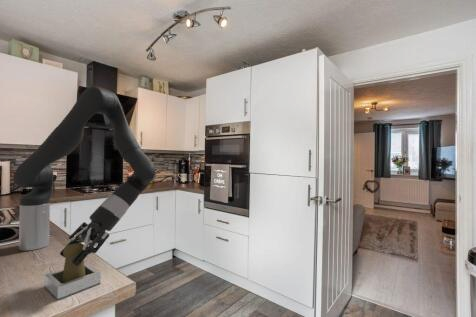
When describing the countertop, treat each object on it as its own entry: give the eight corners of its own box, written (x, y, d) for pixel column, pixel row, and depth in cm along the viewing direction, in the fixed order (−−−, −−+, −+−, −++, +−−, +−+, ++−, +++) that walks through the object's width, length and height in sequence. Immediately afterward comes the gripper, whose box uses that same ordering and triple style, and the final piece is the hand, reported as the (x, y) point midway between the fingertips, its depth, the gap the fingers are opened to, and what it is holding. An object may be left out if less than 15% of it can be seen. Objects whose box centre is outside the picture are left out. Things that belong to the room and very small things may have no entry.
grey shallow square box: (44, 286, 67) (44, 274, 67) (85, 272, 76) (85, 262, 76) (57, 300, 61) (57, 287, 61) (100, 283, 70) (100, 272, 70)
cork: (81, 275, 73) (82, 239, 73) (89, 282, 70) (90, 244, 69) (57, 283, 68) (58, 245, 68) (65, 291, 65) (65, 250, 65)
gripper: (91, 202, 79) (47, 247, 69) (113, 208, 70) (66, 260, 61) (107, 215, 83) (68, 259, 74) (130, 222, 75) (89, 273, 65)
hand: (68, 260), depth 67 cm, fingers open, 8 cm apart
